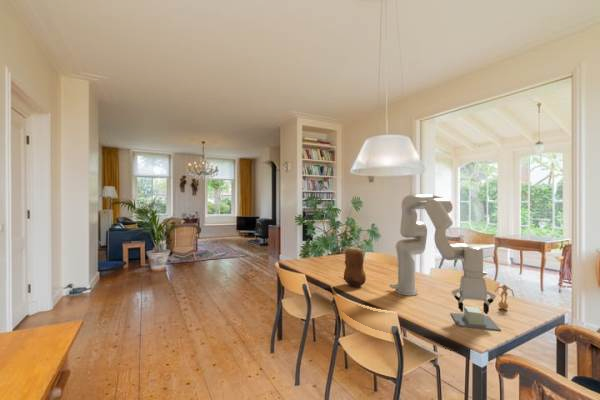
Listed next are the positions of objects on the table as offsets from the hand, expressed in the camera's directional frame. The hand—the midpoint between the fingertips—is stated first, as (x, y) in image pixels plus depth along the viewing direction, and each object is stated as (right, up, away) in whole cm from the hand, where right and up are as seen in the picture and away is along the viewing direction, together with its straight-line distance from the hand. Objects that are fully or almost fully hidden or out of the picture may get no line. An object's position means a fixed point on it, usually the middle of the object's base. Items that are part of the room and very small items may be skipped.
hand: (473, 311), depth 126 cm
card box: (0, -4, 0) cm, 4 cm away
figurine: (+24, -4, +14) cm, 29 cm away
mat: (0, -4, 0) cm, 4 cm away
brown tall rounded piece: (-43, -5, +54) cm, 70 cm away
